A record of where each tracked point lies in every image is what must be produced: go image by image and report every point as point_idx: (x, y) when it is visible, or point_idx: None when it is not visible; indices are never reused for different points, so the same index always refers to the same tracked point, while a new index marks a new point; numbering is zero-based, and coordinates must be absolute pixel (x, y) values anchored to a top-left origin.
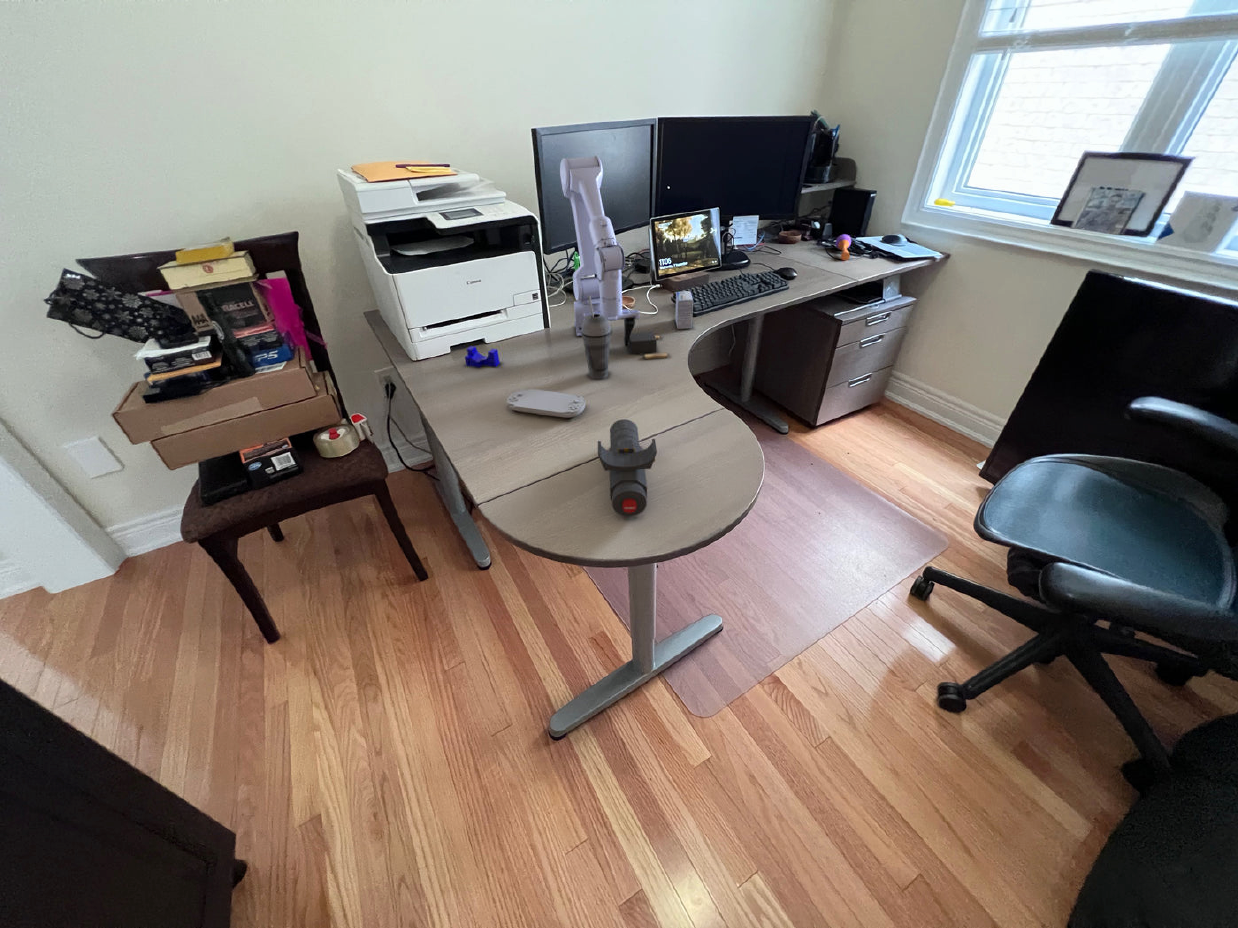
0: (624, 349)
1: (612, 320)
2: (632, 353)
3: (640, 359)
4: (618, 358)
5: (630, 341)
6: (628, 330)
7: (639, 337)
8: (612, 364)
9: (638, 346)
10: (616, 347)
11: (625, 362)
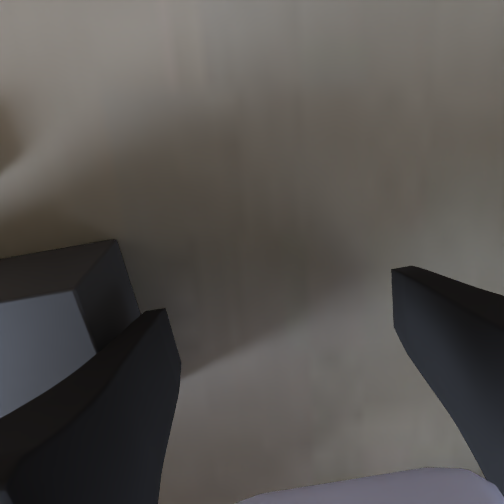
0: (184, 317)
1: (368, 493)
2: (103, 242)
3: (6, 128)
4: (217, 147)
5: (86, 309)
6: (58, 406)
7: (2, 389)
8: (264, 5)
9: (20, 276)
10: (251, 347)
11: (139, 56)
